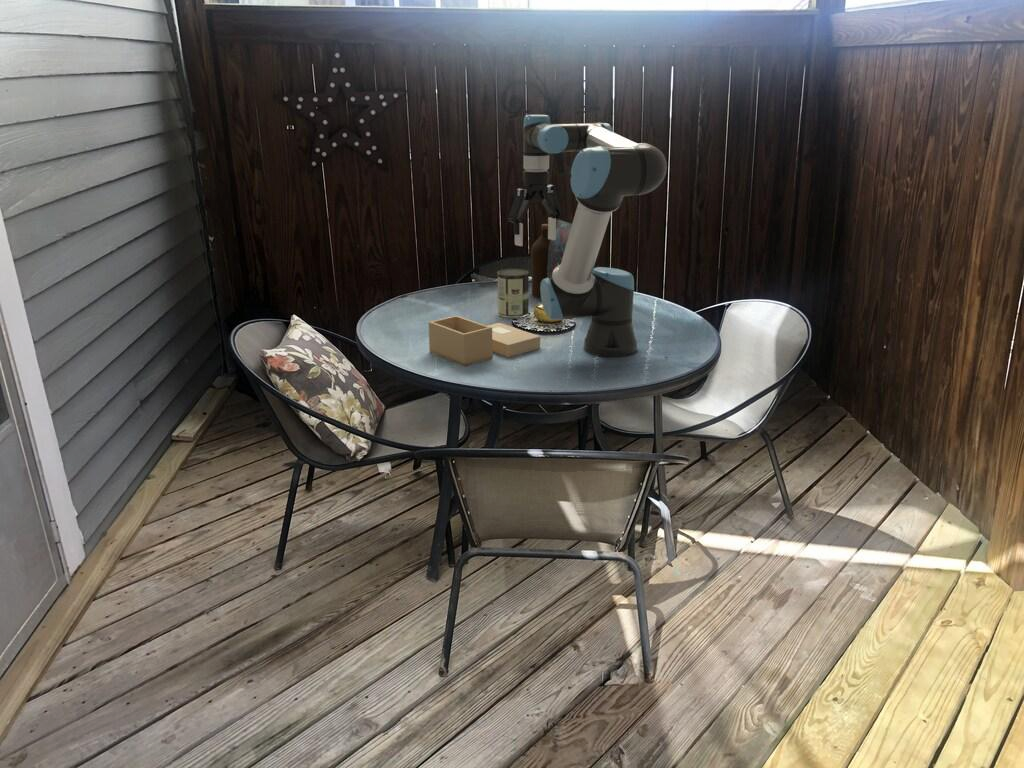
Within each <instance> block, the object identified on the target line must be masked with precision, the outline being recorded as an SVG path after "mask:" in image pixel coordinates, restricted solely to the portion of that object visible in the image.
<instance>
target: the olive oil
mask: <svg viewBox="0 0 1024 768" xmlns="http://www.w3.org/2000/svg"><path fill="white" fill-rule="evenodd" d="M540 232H541V235H540V236H539V237H538V239H536V240H535V242H534V243H532V246H531V248H530V265H531V266H530V268H531V269H530V271H531V295H532V296H533V297H536V298H539V299H541V293H540V286H541V281H542V280H543V279H545V278H547V266H548V247H549V244H550V241H551V240H550V239H548V223H543V224H541V228H540Z"/></svg>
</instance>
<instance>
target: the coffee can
mask: <svg viewBox="0 0 1024 768" xmlns="http://www.w3.org/2000/svg"><path fill="white" fill-rule="evenodd" d="M496 273H497V312H498V313H497V315H498V316H499V317H501V318H507V319H516V318H515V317H520V316H524V315H527V314H529V315H530V312H529V310H530V309H529V299H530V298H529V291H530V290H529V285H530V284H529V283H530V281H529V275H530V271H528V270H526V269H522V268H505V269H501V270H498V271H497V272H496ZM527 316H528V315H527Z"/></svg>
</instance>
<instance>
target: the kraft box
mask: <svg viewBox="0 0 1024 768" xmlns="http://www.w3.org/2000/svg"><path fill="white" fill-rule="evenodd" d="M428 340H429V341H428V342H429V343H428V344H429V346H428V347H429V353H430V354H433V355H436V356H437V357H440V358H443V359H444V360H445V359H446V360H448V361H450V362H452V363H455V364H458V365H460V366H463V367H467V366H471V365H474V364H477V363H480V362H484V361H488V360H492V359H493V351H492V327H489V326H488V325H486V324H483V323H481V322H478V321H474V320H471V319H468V318H465V317H462V316H460V315H454V316H449V317H444V318H441V319H439V318H438V319H436V320H432V321H428Z"/></svg>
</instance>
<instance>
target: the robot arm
mask: <svg viewBox="0 0 1024 768" xmlns="http://www.w3.org/2000/svg"><path fill="white" fill-rule="evenodd" d="M550 119H551V117H550V116H549V115H547V114H527V115H525V116H524V118H523V127H522V131H523V132H522V133H523V134H522V135H523V137H522V139H523V169H524V170H523V175H522V176H523V177H522V179H523V184H524V188H516V190H515V197H514V200H513V202H512V205H511V209H510V211H509V214H508V217H507V222H509V223H512V228H513V229H512V231H513V235H514V245H515V246H518V247H523V246H524V245H523V244H524V243H523V242H524V241H523V240H524V239H523V238H524V236H523V235H524V234H523V232H524V224H523V223H522V221H523V219H524V218H525V215H526V214H527V212H528V210H529V209H530V207H531V206H533V204H537V203H541V204H542V206H543V207H544V208H545V210H546V212H547V213H548V215H549V217H548V218H547V224H548V239H550V240H556V228H557V220H558V219H560V218H561V216H563V213H564V212H563V210H562V207H561V203H560V201H559V198H558V195H557V191H556V190H557V188H556V185H553V184H549V182H550V172H549V169H550V155H551V154H560V153H570V152H578V153H577V154H576V156H575V158H574V159H573V162H572V166H571V168H570V169H571V170H570V175H571V177H570V187H571V191H572V193H573V194H574V196H575V199H576V201H577V206H576V208H575V209H576V210H575V214H574V217H573V220H572V222H571V224H572V227H571V230H570V234H569V237H568V241H567V244H566V248H565V251H564V255H563V258H562V262H561V264H560V265H558V266H557V267H556V268H555V269H554V270H553V273H552V277H551V278H545V279H543V280H542V281H541V286H540V293H541V298H540V299H541V305H542V308H543V310H544V314H546V316H547V318H548V319H550V320H555V321H556V320H557V321H558V320H560V321H561V320H562V321H563V320H570V319H578V318H579V319H581V318H588V317H589V318H590V324H589V327H588V330H587V333H586V336H585V338H584V341H583V342H584V343H583V344H584V345H583V349H584V351H586V352H587V353H589V354H592V355H595V356H600V357H607V358H610V357H612V358H613V357H614V356H615V357H614V358H616V356H619V357H625V356H624V355H626V356H629V355H632V354H634V353H636V352H637V349H638V342H637V339H636V336H635V331H634V327H633V313H634V312H633V310H634V309H633V308H634V297H635V296H634V293H635V279H634V278H635V277H634V276H633V274H632V273H631V272H628V271H626V270H623V269H619V268H613V267H603V266H597V267H595V263H596V261H597V258H598V255H599V252H600V248H601V246H602V243H603V239H604V238H605V237H604V236H605V233H606V231H607V228H608V227H607V226H608V224H609V221H610V218H611V215H612V213H613V212H615V211H617V210H618V209H619V208H620V206H621V204H622V201H623V200H624V199H623V198H624V197H628V196H629V197H630V196H642V195H645V194H648V193H650V192H652V191H654V190H656V189H657V188H658V187H659V186H660V185H661V184H662V183H663V181H664V179H665V178H666V174H667V170H668V169H667V168H668V166H667V165H668V163H667V159H666V157H665V155H664V153H663V152H662V151H661V150H660V149H659V148H658V147H656V146H654V145H652V144H649V143H647V142H641V143H637V142H635V141H633V140H631V139H628V138H626V137H625V136H622V135H620V134H618V133H616V132H614V130H613V128H612V126H611V125H610V123H608V122H607V123H606V122H599V121H598V122H591V123H590V122H589V123H551V122H550Z"/></svg>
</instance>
